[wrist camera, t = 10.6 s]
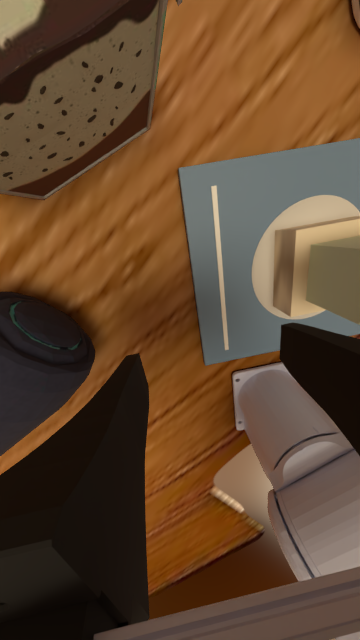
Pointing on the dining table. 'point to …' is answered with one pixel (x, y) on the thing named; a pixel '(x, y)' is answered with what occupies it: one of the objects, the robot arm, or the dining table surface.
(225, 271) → the board
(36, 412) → the portable speaker
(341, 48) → the dining table surface
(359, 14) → the supplement bottle
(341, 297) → the sage block
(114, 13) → the food container
